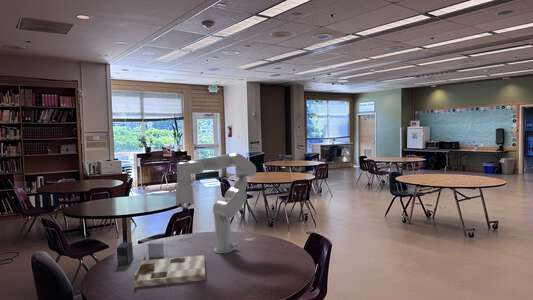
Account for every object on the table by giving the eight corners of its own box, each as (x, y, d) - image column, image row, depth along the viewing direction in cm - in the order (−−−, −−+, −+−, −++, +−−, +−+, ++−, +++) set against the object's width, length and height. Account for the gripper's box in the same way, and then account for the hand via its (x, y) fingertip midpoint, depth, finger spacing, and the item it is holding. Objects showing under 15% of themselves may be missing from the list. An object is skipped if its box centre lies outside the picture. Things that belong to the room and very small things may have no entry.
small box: (122, 259, 219) (121, 242, 219) (133, 258, 220) (132, 241, 219) (116, 265, 209) (115, 247, 208) (128, 264, 209) (127, 246, 209)
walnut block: (154, 266, 196) (154, 259, 196) (153, 270, 190) (152, 263, 190) (143, 267, 195) (142, 260, 195) (141, 272, 189) (140, 264, 189)
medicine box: (163, 255, 224) (163, 241, 224) (161, 257, 220) (160, 243, 219) (151, 255, 225) (150, 241, 225) (148, 257, 221) (147, 243, 220)
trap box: (204, 260, 213) (204, 250, 213) (205, 280, 183) (204, 268, 183) (144, 265, 207) (143, 255, 206) (134, 287, 177) (134, 275, 177)
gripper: (197, 182, 217) (198, 212, 218) (171, 183, 214) (172, 214, 215) (197, 183, 210) (198, 215, 210) (170, 185, 207) (171, 216, 208)
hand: (185, 214), depth 213 cm, fingers closed
